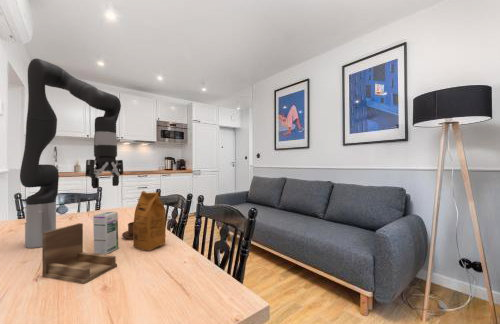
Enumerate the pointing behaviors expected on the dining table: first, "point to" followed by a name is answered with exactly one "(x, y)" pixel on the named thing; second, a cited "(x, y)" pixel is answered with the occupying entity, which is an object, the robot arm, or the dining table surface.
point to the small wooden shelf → (71, 256)
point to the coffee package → (149, 222)
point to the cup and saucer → (129, 231)
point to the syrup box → (105, 232)
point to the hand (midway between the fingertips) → (105, 186)
